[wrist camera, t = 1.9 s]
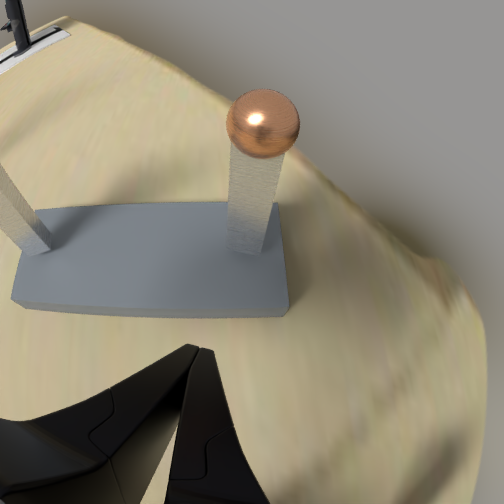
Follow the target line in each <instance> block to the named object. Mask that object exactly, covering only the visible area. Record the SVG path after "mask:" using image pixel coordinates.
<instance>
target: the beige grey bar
mask: <svg viewBox="0 0 504 504" xmlns="http://www.w3.org/2000/svg"><path fill="white" fill-rule="evenodd" d="M0 228H1V229H2V231H3V232H4V233H5V234H6V235H7V236H8V237H9V238H10V239H11V240H12V241H13V242H14V243H15V244H16V245H17V246H18V247H19V248H20V249H21V250H22V251H23V252H24V253H25V254H26V255H27V256H28V257H30V256H33V255H36V254H40V253H43V252H46V251H49V250H51V235H52V233H51V232H50V231H49V230H48V229H47V227H46V226H45V225H44V224H43V222H42V221H41V220H40V219H39V217H38V216H37V215H36V213H35V212H34V211H33V209H32V208H31V207H30V205H29V204H28V203H27V201H26V200H25V199H24V197H23V196H22V195H21V193H20V192H19V190H18V189H17V187H16V186H15V185H14V183H13V182H12V180H11V179H10V177H9V176H8V174H7V173H6V171H5V170H4V168H3V167H2V165H1V164H0Z"/></svg>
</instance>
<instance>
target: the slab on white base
mask: <svg viewBox="0 0 504 504" xmlns="http://www.w3.org/2000/svg"><path fill="white" fill-rule="evenodd" d="M5 8H6V12H7V17H8V19H10V21H9V22H8V23H7V24H5V25H4V26H3V27H2V28H1V30H5V29H7V30H8V32H10V31H13V34H14V37H15V41H16V45H15V46H13V47H11V48H10V49H8V50H6V51H5V52H3V53H2V54H0V75H1V74H2V73H4V72H5V71H7V70H8V69H10V68H11V67H13V66H15V65H16V64H18V63H20V62H21V61H23V60H25V59H26V58H28V57H30V56H31V55H33V54H35V53H37V52H39V51H41V50H42V49H44V48H46V47H48V46H50V45H52V44H54V43H56V42H58V41H60V40H62V39H65V38H67V37H69V36H70V34H69V33H67V32H66V31H64V30H62V29H61V28H59V27H58V26H56V25H52V26H50V27H48V28H46V29H44V30H42V31H40V32H38V33H36V34H34V35H32V36H31V37H30V35H29V32H28V29H27V25H26V19H25V15H24V10H23V5H22V2H21V0H6V5H5Z"/></svg>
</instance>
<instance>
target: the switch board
mask: <svg viewBox="0 0 504 504" xmlns="http://www.w3.org/2000/svg"><path fill="white" fill-rule="evenodd" d="M35 213H36V215H37V216H38V217H39V219H40V220H41V221H42V222H43V224H44V225H45V226H46V227H47V229H48V230H49V231H50V232H51V233H52V235H51V250H49V251H46V252H43V253H40V254H36V255H33V256H30V257H28V256H27V255H26V254H25V253H24V252H23V251H22V253H21V256H20V260H19V264H18V268H17V272H16V276H15V280H14V285H13V289H12V294H11V300H13V301H14V302H16V303H17V304H19V305H21V306H22V307H24V308H25V309H34V310H43V311H54V312H65V313H77V314H91V315H107V316H126V317H153V318H254V317H282V316H283V315H284V314H285V313H286V311H287V310H288V308H289V298H288V288H287V278H286V269H285V260H284V251H283V242H282V234H281V225H280V217H279V209H278V203H273V204H272V208H271V213H270V217H269V221H268V225H267V229H266V233H265V237H264V241H263V245H262V249H261V253H260V257H259V256H255V255H251V254H246V253H242V252H238V251H233V250H229V249H226V248H227V218H228V202H177V203H140V204H116V205H96V206H80V207H65V208H52V209H40V210H35Z"/></svg>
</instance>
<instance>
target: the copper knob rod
mask: <svg viewBox="0 0 504 504" xmlns="http://www.w3.org/2000/svg"><path fill="white" fill-rule="evenodd" d="M226 128H227V133H228V136H229V138H230V140H231V151H230V171H229V193H228V218H227V248H226V249H229V250H233V251H238V252H242V253H246V254H251V255H255V256H259V257H260V253H261V249H262V245H263V241H264V237H265V233H266V229H267V225H268V221H269V217H270V213H271V208H272V204H273V200H274V196H275V192H276V188H277V184H278V180H279V176H280V172H281V168H282V163H283V159H284V155H285V152H286V151H288V150H289V149H290V148H291V147H292V146H293V144H294V143H295V141H296V139H297V137H298V134H299V130H300V119H299V114H298V112H297V109H296V108H295V106H294V104H293V103H292V102H291V101H290V100H289V99H288V98H287V97H286V96H284V95H283V94H281V93H279V92H277V91H274V90H270V89H256V90H252V91H249V92H247V93H245V94H243V95H241V96H240V97H239V98H238V99H237V100H236V101H235V102H234V103H233V104H232V106H231V107H230V109H229V112H228V115H227V120H226Z"/></svg>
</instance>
